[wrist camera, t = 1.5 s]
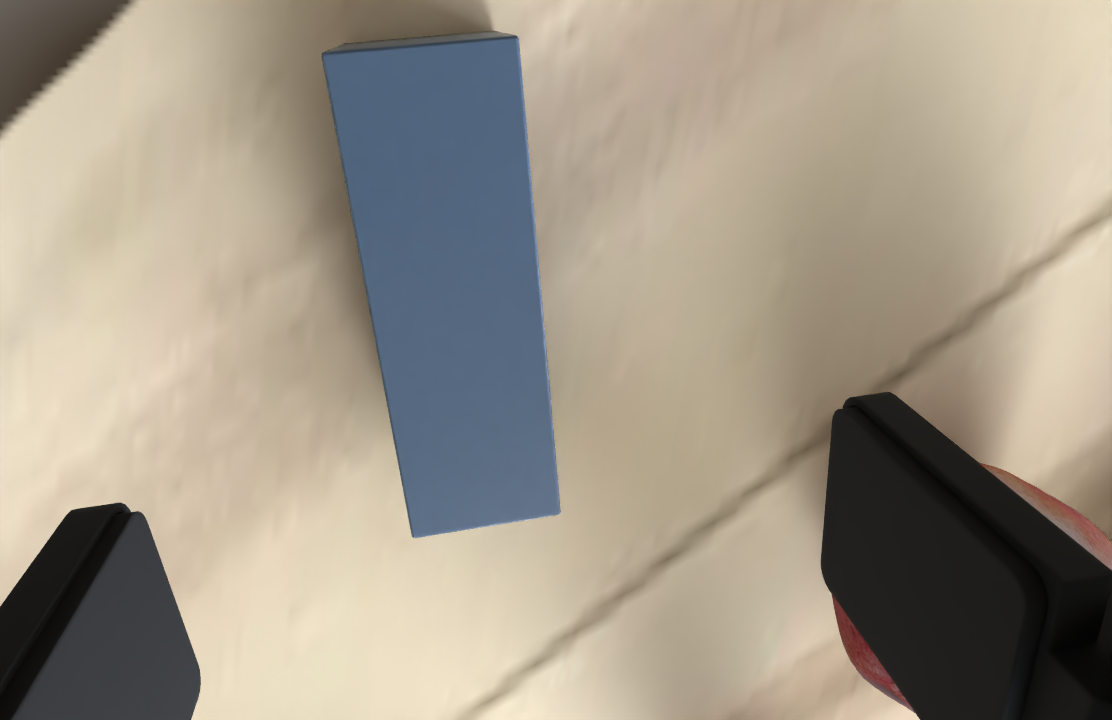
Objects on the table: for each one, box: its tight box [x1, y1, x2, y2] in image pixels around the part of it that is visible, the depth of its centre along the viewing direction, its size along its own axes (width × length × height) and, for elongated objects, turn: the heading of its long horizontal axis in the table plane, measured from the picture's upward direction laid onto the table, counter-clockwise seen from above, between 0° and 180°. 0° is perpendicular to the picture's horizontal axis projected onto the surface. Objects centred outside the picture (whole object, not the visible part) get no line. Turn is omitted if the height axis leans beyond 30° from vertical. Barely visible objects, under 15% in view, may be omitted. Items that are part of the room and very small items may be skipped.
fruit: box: [832, 463, 1112, 713], centre depth 26 cm, size 9×10×10 cm
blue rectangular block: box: [322, 31, 561, 538], centre depth 21 cm, size 12×4×5 cm, turn 4°
